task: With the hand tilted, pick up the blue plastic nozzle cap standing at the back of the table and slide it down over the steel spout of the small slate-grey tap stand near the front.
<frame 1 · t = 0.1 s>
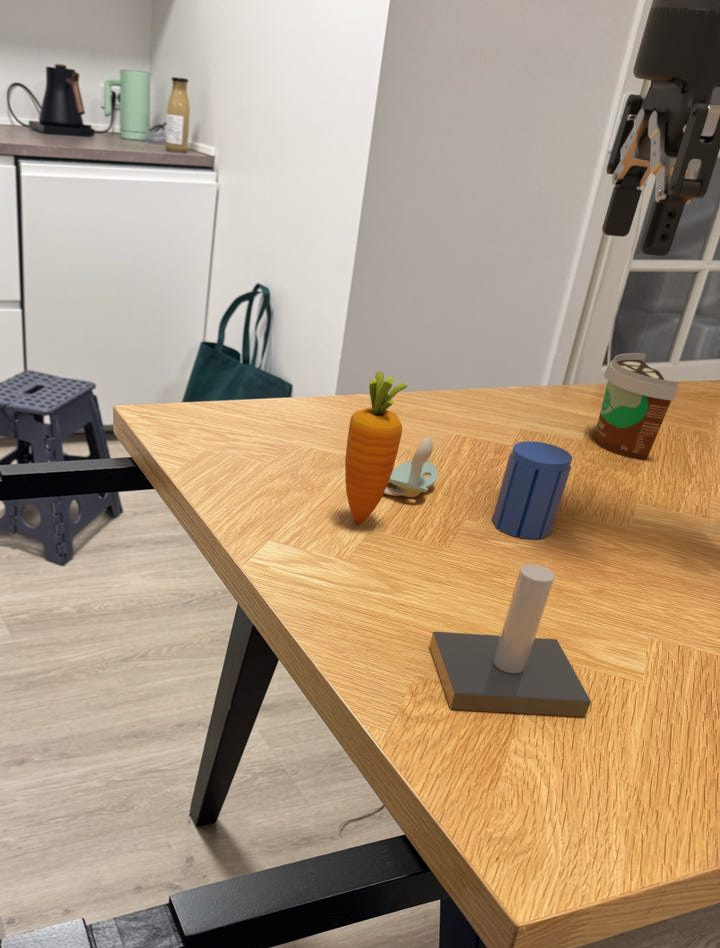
hand: (632, 244, 74), 27 cm above the table, tool pointing down, fingers open, 8 cm apart
pacifier: (402, 491, 96), on the table
tap stand: (503, 680, 67), on the table
nozzle cap: (521, 526, 90), on the table
carrot: (358, 525, 88), on the table
food container: (609, 444, 113), on the table
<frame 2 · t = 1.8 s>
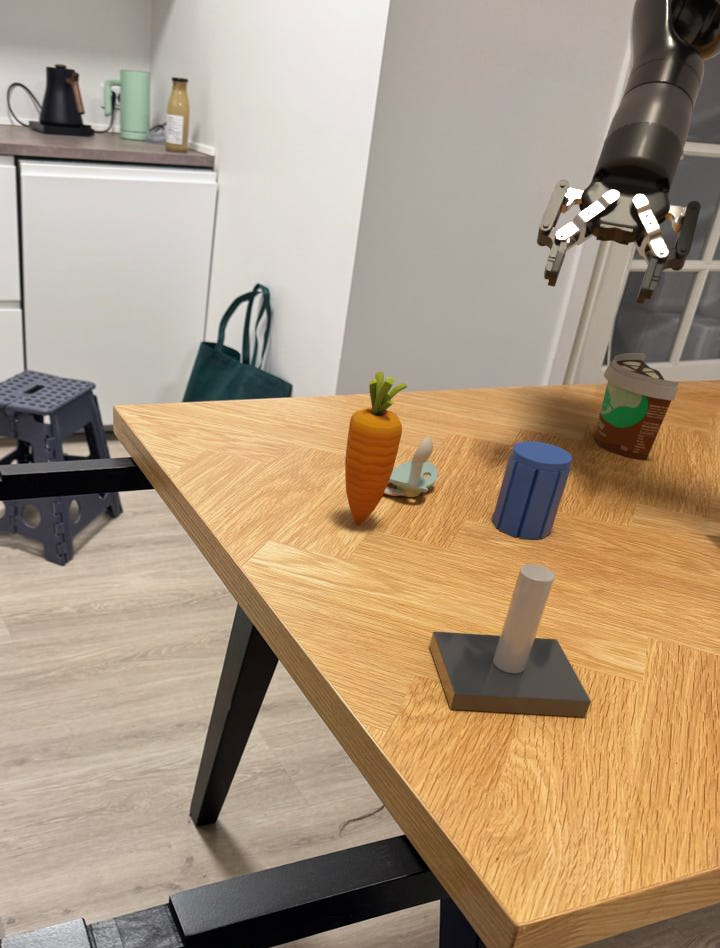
hand: (596, 290, 87), 21 cm above the table, tool tilted 45°, fingers open, 8 cm apart
nothing on the table moved.
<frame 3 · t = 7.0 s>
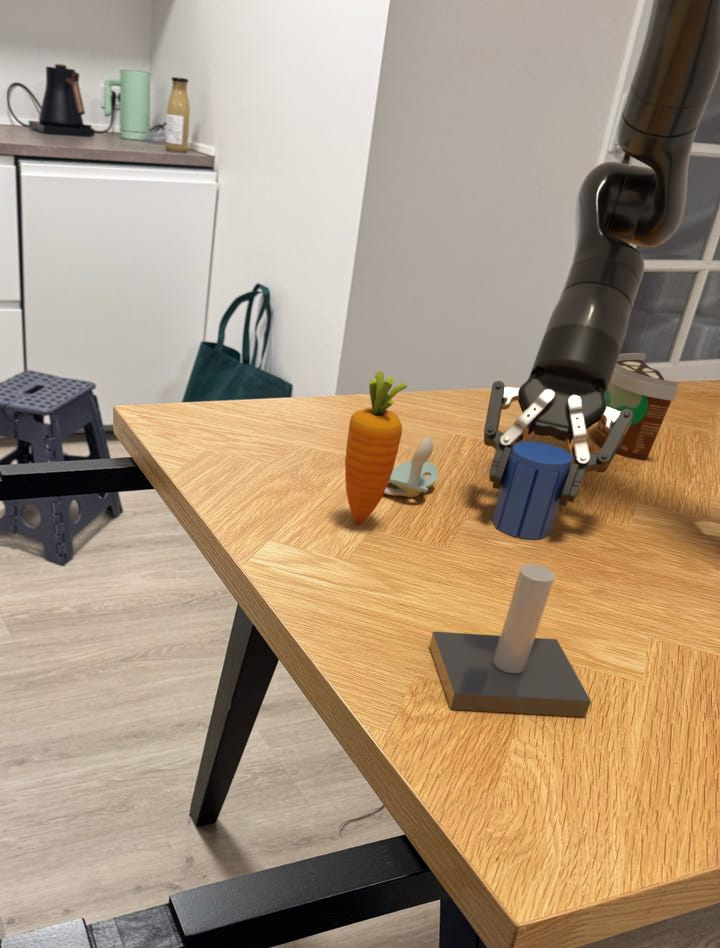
hand: (529, 493, 87), 4 cm above the table, tool tilted 45°, fingers closed on nozzle cap, 6 cm apart
nozzle cap: (521, 526, 90), on the table, touching gripper
everything else where it was.
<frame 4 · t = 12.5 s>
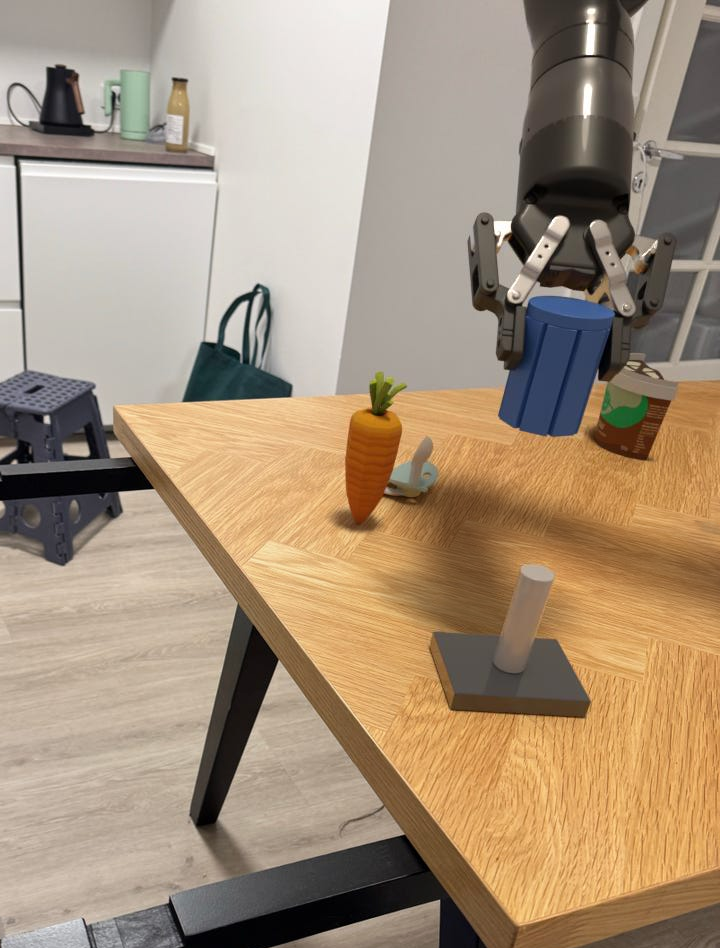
hand: (561, 369, 60), 22 cm above the table, tool tilted 45°, fingers closed on nozzle cap, 6 cm apart
nozzle cap: (538, 421, 64), point 18 cm above the table, touching gripper
everything else where it was.
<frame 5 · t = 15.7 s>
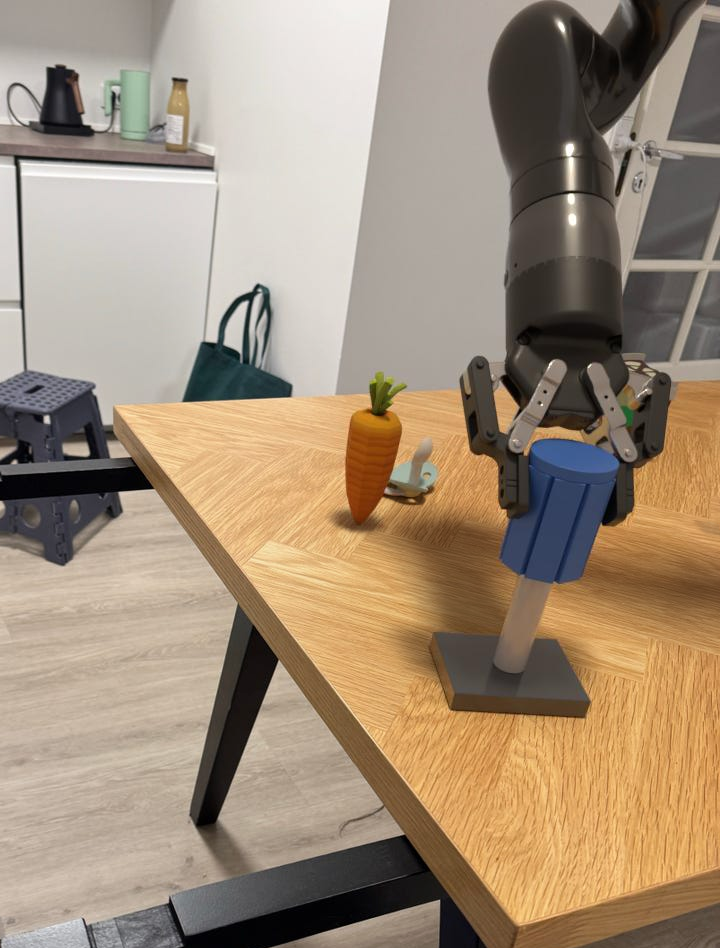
hand: (566, 518, 58), 15 cm above the table, tool tilted 45°, fingers closed on nozzle cap, 6 cm apart
nozzle cap: (540, 562, 62), point 10 cm above the table, touching gripper
everything else where it was.
when the fingers open (7 cm above the table, at t = 18.4 s): nozzle cap stays where it is, resting on tap stand.
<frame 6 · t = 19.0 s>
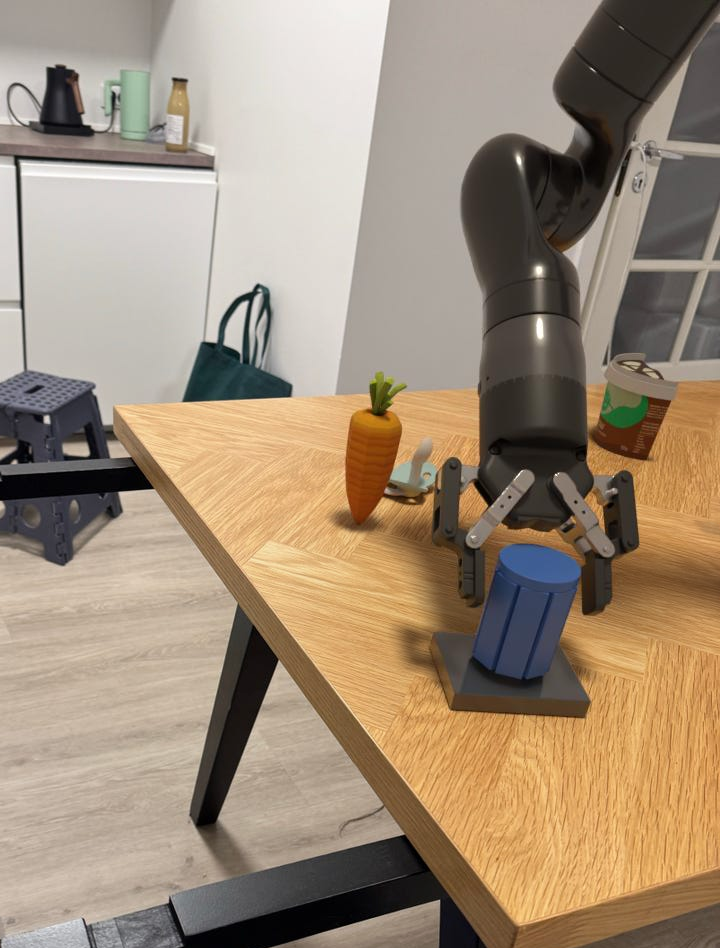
hand: (534, 609, 62), 7 cm above the table, tool tilted 45°, fingers open, 8 cm apart
nozzle cap: (510, 655, 66), point 2 cm above the table, touching tap stand
everything else where it was.
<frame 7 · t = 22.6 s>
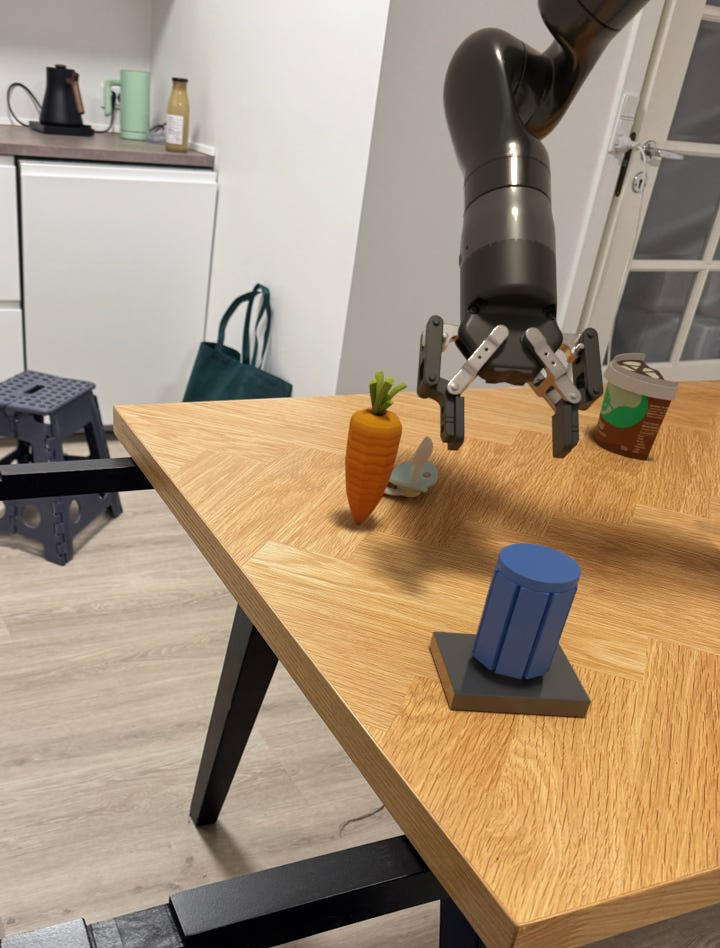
hand: (509, 451, 69), 14 cm above the table, tool tilted 45°, fingers open, 8 cm apart
nothing on the table moved.
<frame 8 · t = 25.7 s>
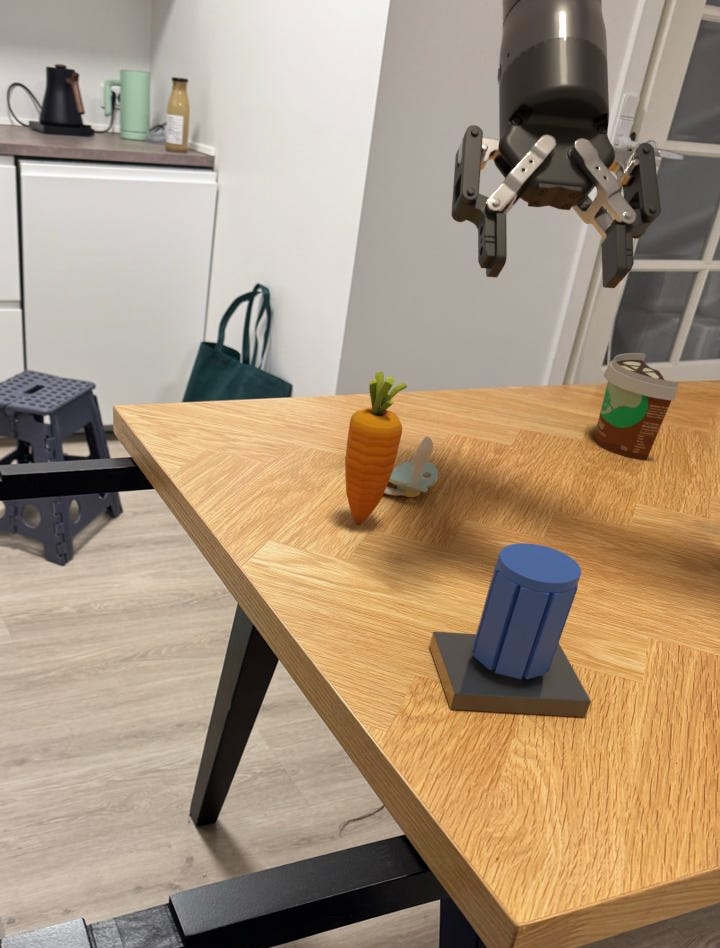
hand: (556, 276, 62), 27 cm above the table, tool tilted 45°, fingers open, 8 cm apart
nothing on the table moved.
at the end: nozzle cap 0.1 cm from the tap stand (horizontally); nozzle cap point 2.3 cm above the table; nozzle cap tilted 0° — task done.
